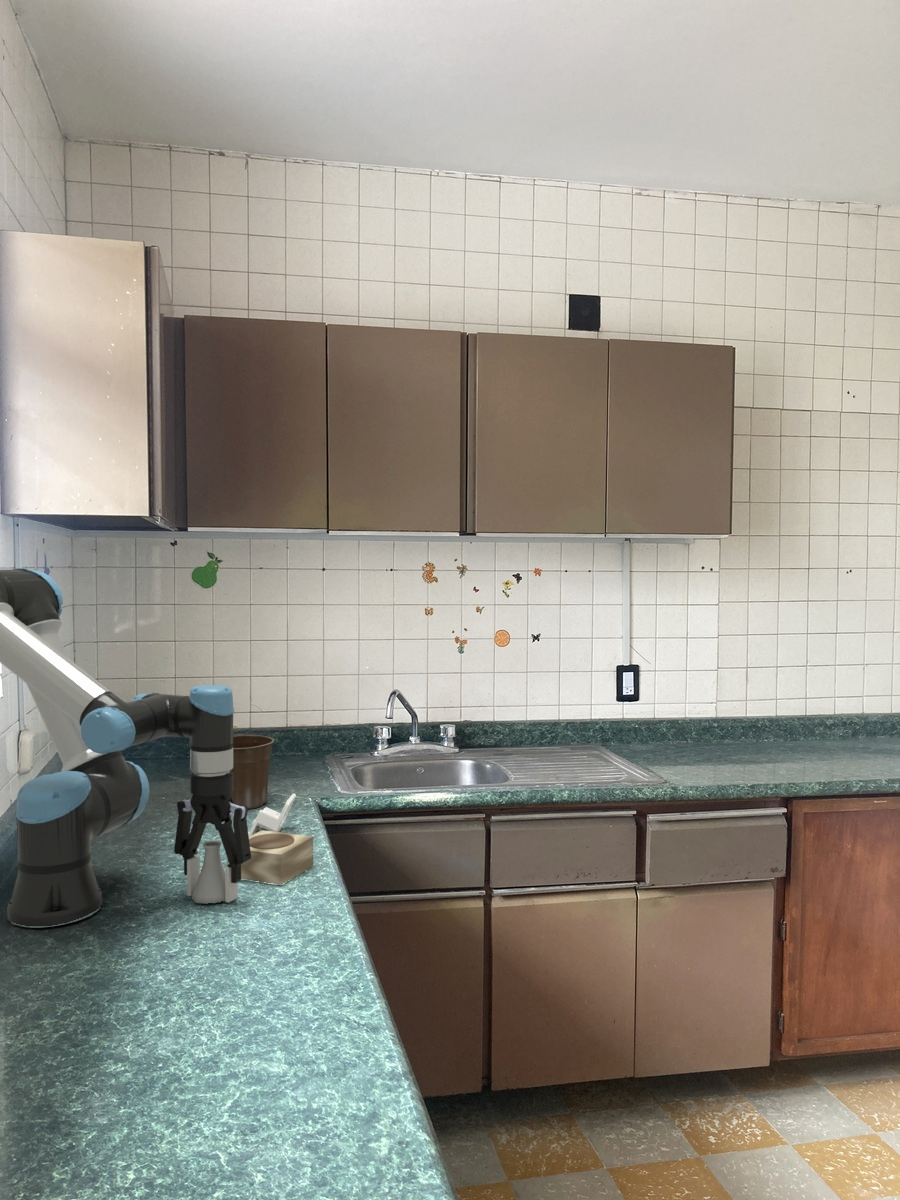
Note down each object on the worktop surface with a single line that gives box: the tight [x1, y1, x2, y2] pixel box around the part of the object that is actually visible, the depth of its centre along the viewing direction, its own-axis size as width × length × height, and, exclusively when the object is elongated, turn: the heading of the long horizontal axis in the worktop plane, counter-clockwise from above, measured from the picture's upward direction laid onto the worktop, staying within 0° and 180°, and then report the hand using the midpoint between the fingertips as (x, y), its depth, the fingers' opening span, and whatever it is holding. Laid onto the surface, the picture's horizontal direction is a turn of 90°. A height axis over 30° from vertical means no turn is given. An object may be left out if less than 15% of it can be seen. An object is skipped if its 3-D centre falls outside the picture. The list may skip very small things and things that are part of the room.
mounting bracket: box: [248, 793, 297, 836], centre depth 200 cm, size 12×6×11 cm, turn 179°
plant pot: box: [231, 734, 275, 810], centre depth 226 cm, size 16×16×16 cm
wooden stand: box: [226, 829, 314, 884], centre depth 176 cm, size 12×12×6 cm
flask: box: [191, 840, 225, 904], centre depth 162 cm, size 7×7×10 cm
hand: (212, 896), depth 162 cm, fingers closed on flask, 7 cm apart
